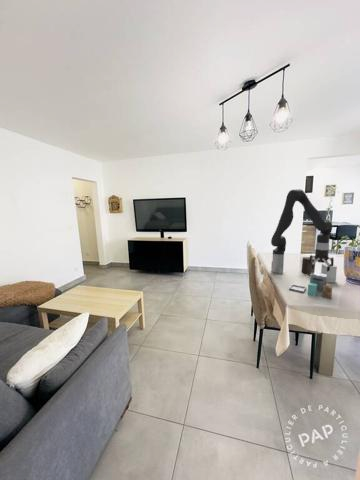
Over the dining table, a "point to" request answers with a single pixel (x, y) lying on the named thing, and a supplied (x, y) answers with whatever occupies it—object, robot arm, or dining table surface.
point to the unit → (318, 280)
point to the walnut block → (327, 291)
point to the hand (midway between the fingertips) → (320, 270)
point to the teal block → (312, 289)
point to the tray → (297, 288)
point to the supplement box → (329, 272)
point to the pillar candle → (307, 266)
